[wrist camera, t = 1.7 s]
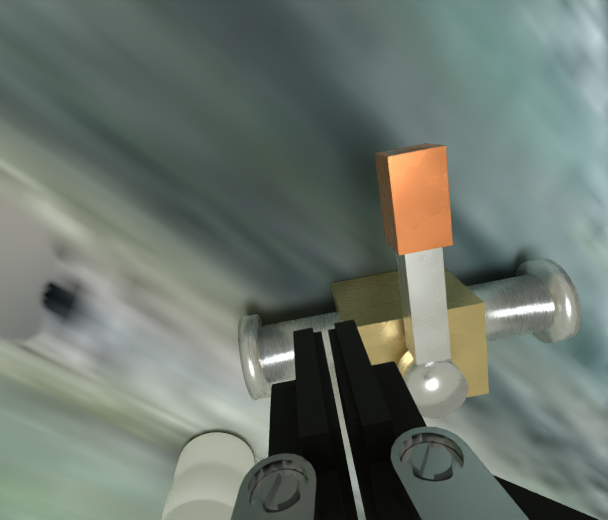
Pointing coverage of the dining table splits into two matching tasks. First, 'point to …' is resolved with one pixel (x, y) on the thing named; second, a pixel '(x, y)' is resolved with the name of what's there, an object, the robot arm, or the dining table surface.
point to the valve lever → (422, 270)
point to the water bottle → (208, 478)
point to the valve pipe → (390, 325)
